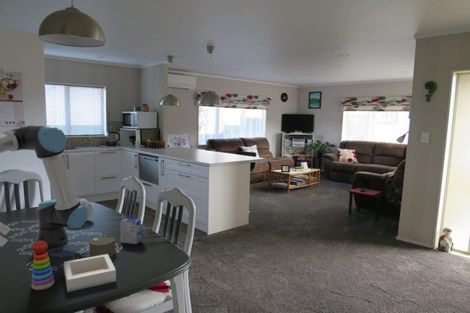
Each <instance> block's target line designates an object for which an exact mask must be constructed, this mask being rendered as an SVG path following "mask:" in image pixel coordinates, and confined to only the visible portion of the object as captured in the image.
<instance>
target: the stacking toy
mask: <svg viewBox="0 0 470 313" xmlns="http://www.w3.org/2000/svg"><path fill="white" fill-rule="evenodd" d="M47 247H48V245H47V243H46V242H45V241H37V242H36V241H35V242H34V244H33V245H32V251H33V252H34V254H33V261H32V262H33V264H32V274H31V278H32V280H31V285H30V286H31V289H33V290H35V291H42V290H46V289H49V288H51V287H52V286H53V285H54V284H55V279H54V274H53V270H52V266H51V262H50V256H49V252H48V251H47V249H48V248H47Z"/></svg>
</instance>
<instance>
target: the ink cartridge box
mask: <svg viewBox="0 0 470 313" xmlns="http://www.w3.org/2000/svg"><path fill="white" fill-rule="evenodd" d="M141 242H142V220H141V219H137V218H136V215H134V214H133V215H131V214H129V215H128V218H124V219H121V220H120V244H121V243H124V244H133V245H137V244H139V243H141Z"/></svg>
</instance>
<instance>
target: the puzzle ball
mask: <svg viewBox="0 0 470 313" xmlns="http://www.w3.org/2000/svg"><path fill="white" fill-rule="evenodd" d="M78 199H79V200H80V204H81V206H84V207H86V208H87V210H88V217H87V219H86V221H88V220H89V219H90V218H91V217H92V216H93V214H94V207H93V205H92V203H91V202H90V200H88V199H85V198H78Z"/></svg>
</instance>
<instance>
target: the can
mask: <svg viewBox="0 0 470 313" xmlns="http://www.w3.org/2000/svg"><path fill="white" fill-rule="evenodd" d="M115 253H116V238H115V237H114V236H110V235H102V236H97V237H94V238H92V239H90V240H89V256H90V257H94V256H99V255H105V254H108V255H109V257H112V256H114V255H115Z"/></svg>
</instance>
